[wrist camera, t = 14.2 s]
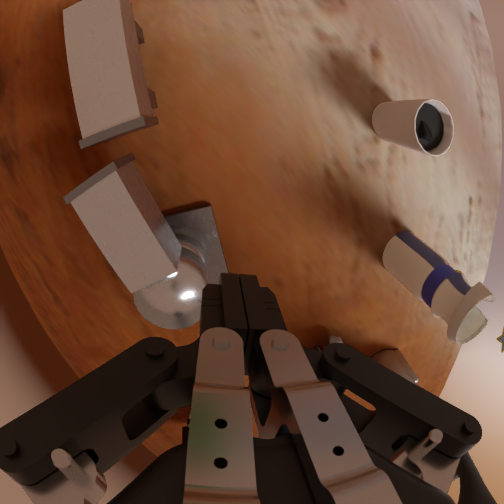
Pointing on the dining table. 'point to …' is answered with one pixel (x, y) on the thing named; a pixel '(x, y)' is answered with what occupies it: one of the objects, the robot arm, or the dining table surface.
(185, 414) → the dining table surface
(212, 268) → the duct stub
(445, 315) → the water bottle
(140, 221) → the elbow
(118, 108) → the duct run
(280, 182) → the dining table surface
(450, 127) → the white cup
